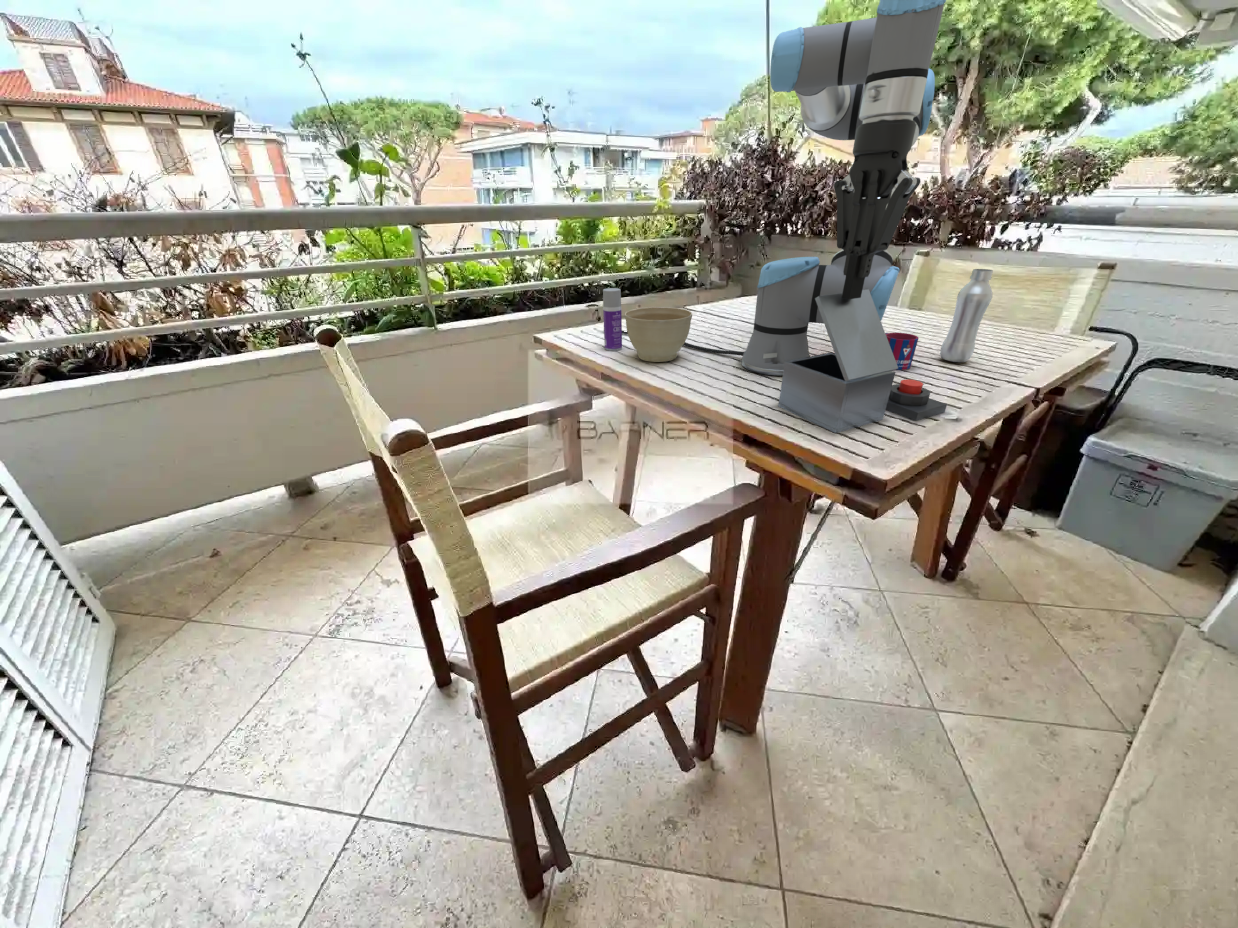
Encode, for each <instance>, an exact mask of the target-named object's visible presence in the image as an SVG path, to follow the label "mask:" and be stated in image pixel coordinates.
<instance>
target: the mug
mask: <svg viewBox="0 0 1238 928" xmlns="http://www.w3.org/2000/svg"><path fill="white" fill-rule="evenodd" d="M885 334H886V337H887V339H888V342H889V345H890V347H891V350H892V353H893V355H894V358H895V361H896V363H897V366H898V369H896V371H905V370H910V369H911V367H912V364H913V359H914V357H915V353H916V349H917V346H918V343H919V336H918V335H916V334H911V333H907V332H885Z"/></svg>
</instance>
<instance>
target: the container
mask: <svg viewBox="0 0 1238 928" xmlns="http://www.w3.org/2000/svg"><path fill="white" fill-rule="evenodd" d="M602 313H603V314H602V315H603V339H604V340H603V341H604V342H603V343H604V350H605V351H608V352H617V351H621V350H622V349H623V334H622V331H623V324H622V321H623V320H622V316H623V315H622V293H621V288H618V287H609V288H608V287H607V288H603V289H602Z"/></svg>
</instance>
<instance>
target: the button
mask: <svg viewBox="0 0 1238 928" xmlns="http://www.w3.org/2000/svg"><path fill="white" fill-rule="evenodd" d="M899 384H900V385H899V389H898V391H900V392H903V393H908V394H920V393H921V390H922V387H923V386H924V383H923V382H922V381H919V380H915V379H908V378H907V379H901V380H900V381H899ZM923 388H924V387H923Z"/></svg>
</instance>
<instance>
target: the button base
mask: <svg viewBox="0 0 1238 928" xmlns="http://www.w3.org/2000/svg"><path fill="white" fill-rule="evenodd" d="M899 385H900V383H896V384H892V387H891V391H890V395H889V399H888V402H887V406H886V410H885V411H888V412H891V413H894V414H896V415H898V416H901V417H904V418H906V419H908V420H911V421H913V422H917V421H921V420H925V419H928V418H931V417H934V416H938V415H940V414H944V413H946V409H947V406H948V404H947V403H945V402H942V401H939V400H935V399H933V398H930V395H931V390H929V389H928V388H926V387H922V390H921V393H920V394H908V393H903V392H900V391H898V389H899Z"/></svg>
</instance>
